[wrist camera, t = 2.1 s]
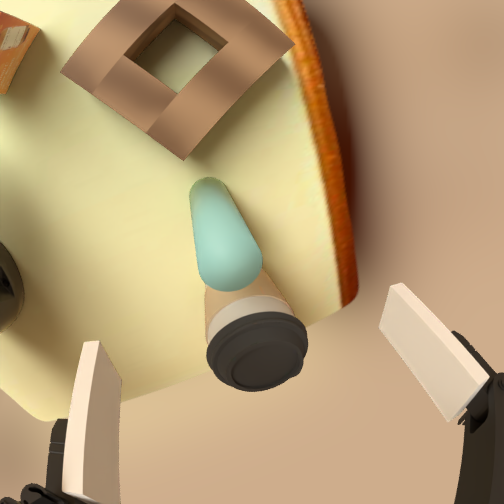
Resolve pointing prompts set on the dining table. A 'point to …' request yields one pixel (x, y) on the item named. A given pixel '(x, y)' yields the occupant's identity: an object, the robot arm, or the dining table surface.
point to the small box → (13, 46)
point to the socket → (199, 87)
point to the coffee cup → (253, 336)
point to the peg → (222, 238)
